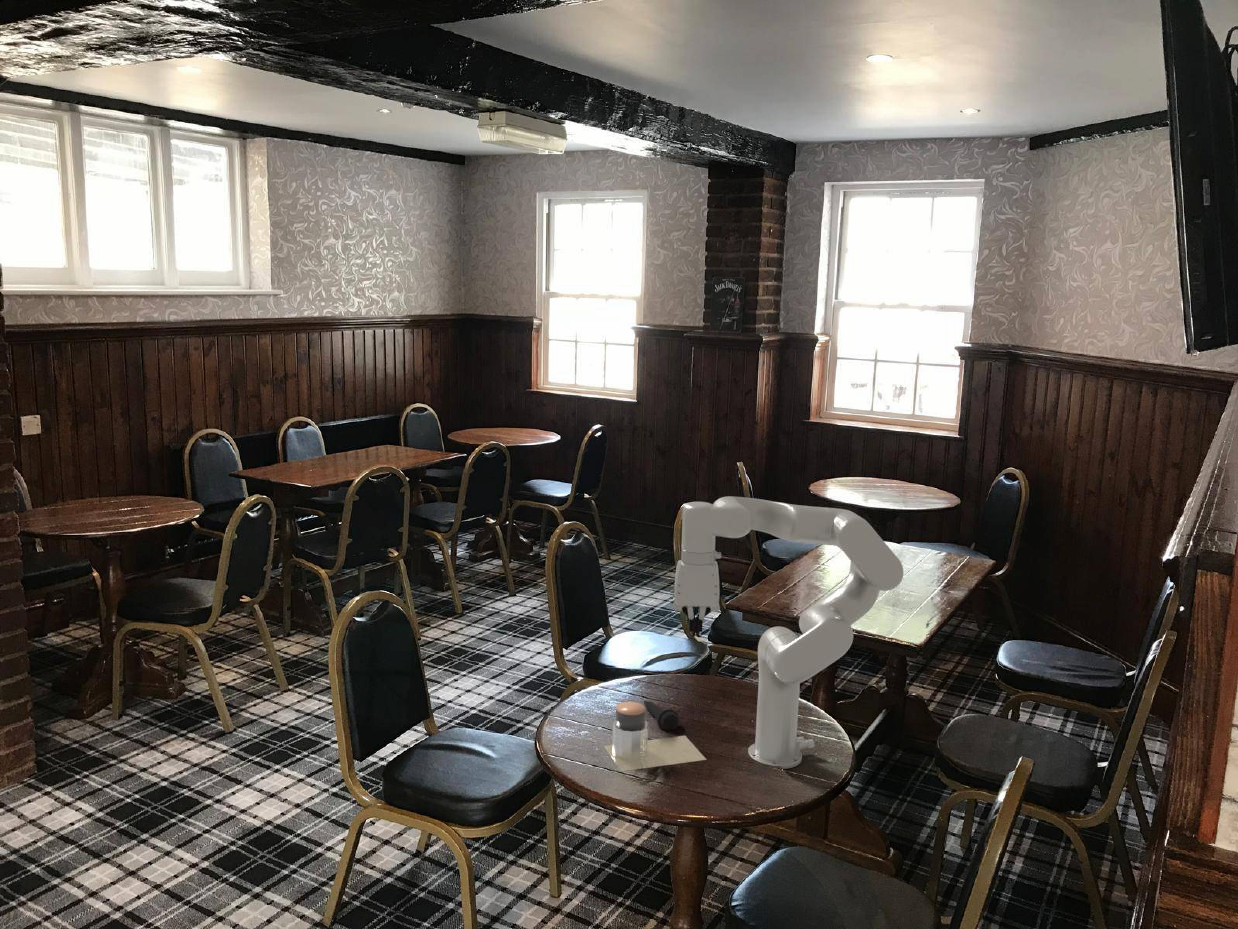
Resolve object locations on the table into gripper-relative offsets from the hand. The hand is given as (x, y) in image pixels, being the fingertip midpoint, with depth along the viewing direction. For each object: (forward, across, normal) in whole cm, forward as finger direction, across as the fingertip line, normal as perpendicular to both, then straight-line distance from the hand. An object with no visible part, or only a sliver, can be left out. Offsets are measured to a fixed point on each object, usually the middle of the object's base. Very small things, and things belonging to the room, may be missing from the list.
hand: (695, 634), depth 226 cm
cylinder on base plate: (+31, +9, -1) cm, 32 cm away
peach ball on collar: (+26, +14, -1) cm, 30 cm away
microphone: (+31, +7, -22) cm, 39 cm away
